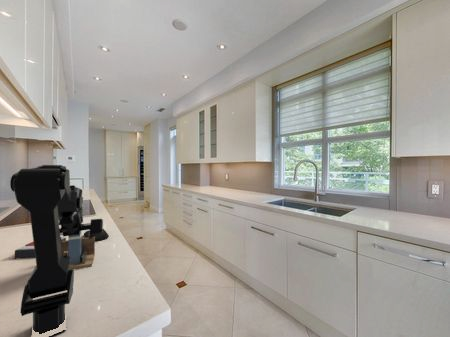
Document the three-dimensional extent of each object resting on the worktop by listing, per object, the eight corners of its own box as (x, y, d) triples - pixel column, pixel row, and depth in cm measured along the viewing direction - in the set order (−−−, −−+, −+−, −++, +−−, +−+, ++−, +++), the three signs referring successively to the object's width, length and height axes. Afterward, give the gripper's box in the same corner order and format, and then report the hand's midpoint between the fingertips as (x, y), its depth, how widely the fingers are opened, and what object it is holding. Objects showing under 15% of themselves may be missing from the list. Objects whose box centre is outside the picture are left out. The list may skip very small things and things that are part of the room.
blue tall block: (79, 262, 76) (79, 232, 76) (68, 264, 75) (68, 233, 74) (81, 258, 80) (81, 229, 80) (70, 260, 78) (70, 230, 78)
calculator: (66, 236, 97) (44, 247, 83) (66, 244, 97) (44, 257, 83) (40, 237, 95) (14, 248, 81) (40, 246, 95) (13, 259, 80)
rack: (92, 266, 76) (92, 245, 76) (44, 275, 69) (44, 253, 69) (94, 254, 85) (94, 236, 85) (52, 261, 78) (52, 242, 78)
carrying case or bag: (81, 236, 107) (84, 244, 96) (81, 230, 107) (84, 238, 96) (103, 232, 114) (109, 239, 103) (103, 227, 114) (109, 233, 103)
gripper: (102, 198, 78) (104, 219, 88) (40, 202, 69) (49, 225, 78) (101, 223, 71) (102, 243, 81) (31, 231, 62) (43, 252, 72)
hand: (75, 240), depth 78 cm, fingers open, 9 cm apart
